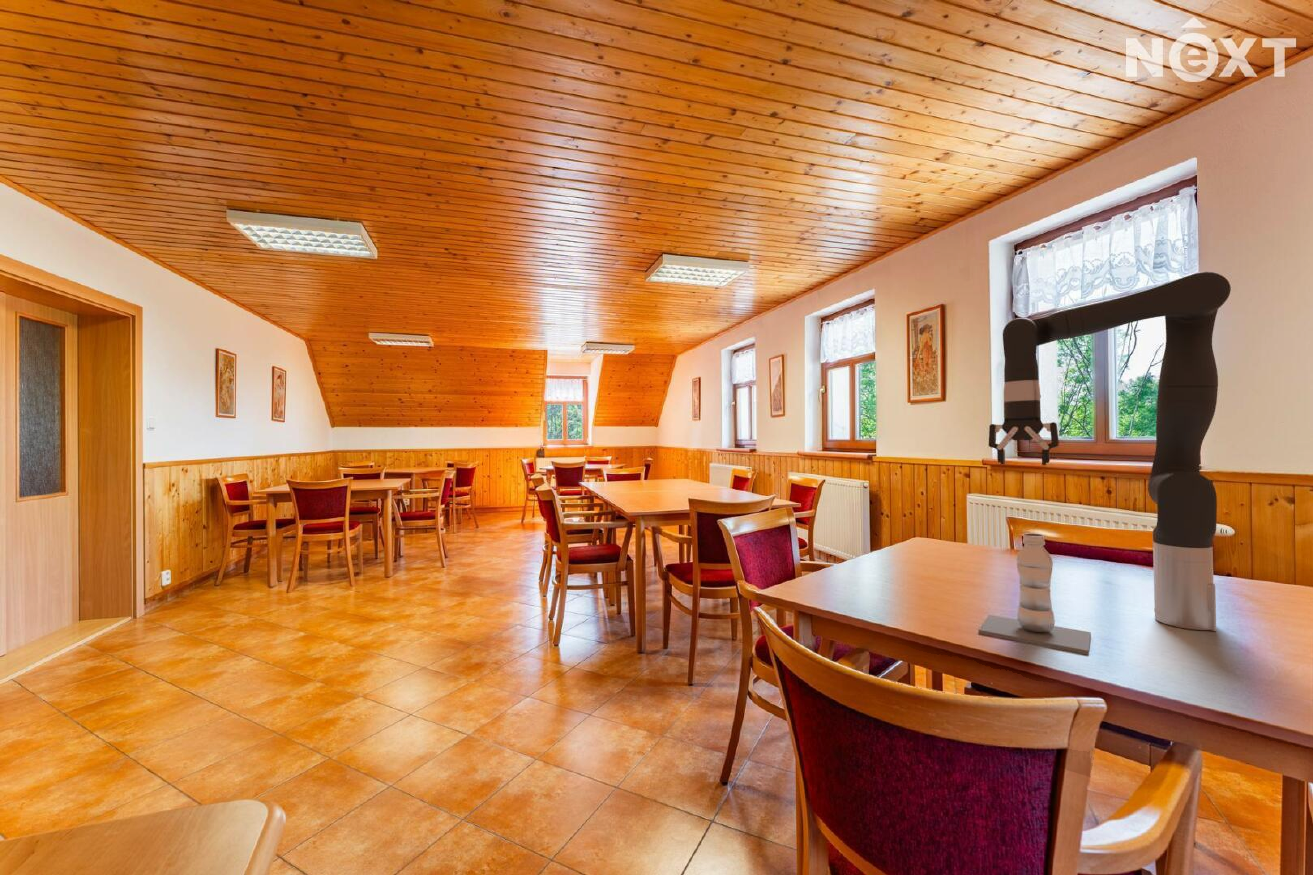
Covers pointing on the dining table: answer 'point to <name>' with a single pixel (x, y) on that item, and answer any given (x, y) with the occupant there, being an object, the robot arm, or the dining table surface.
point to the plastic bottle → (1035, 585)
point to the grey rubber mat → (1037, 635)
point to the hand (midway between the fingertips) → (1023, 464)
